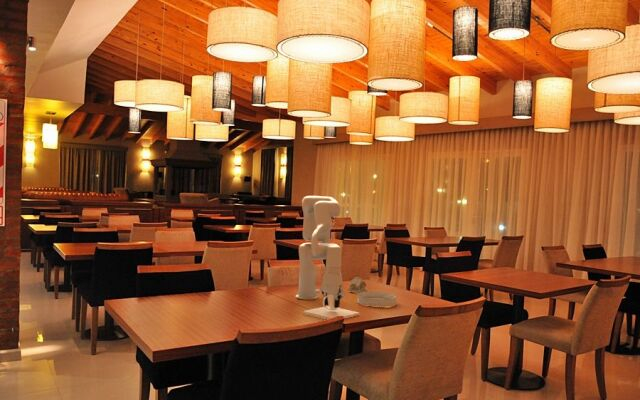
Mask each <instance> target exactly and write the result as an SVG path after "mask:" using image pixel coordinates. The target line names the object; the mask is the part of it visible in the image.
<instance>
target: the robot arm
mask: <svg viewBox="0 0 640 400" xmlns="http://www.w3.org/2000/svg"><path fill="white" fill-rule="evenodd" d="M301 208H302V212H303V225H302V226H303V227H302V238H303V240H304V241H310V242H304V243H302V244H300V245H299V246H298V257H299V274H298V275H299V276H298V293H297V294H296V295H295V298H296V299H298V300H305V301H308V300H309V301H310V300H317V299H318V295H317V294H319V293H320V292H321V295H322V297H323V298H324V297H325V296H327V293H330V294H335V298H336V300H335V305H334V307H335V308H340V302H341V300H342V298H343V297H344V296H345V295H346V292H345V290H344V289H343V276H342V275H343V274H342V273H341V271H342V254H343V253H342V251H343V250H342V247H341V246H339V245H338V244H336V243H331V230H332V229H333V220H332V218H333V217H335V218H337V217H338V216H340V214H341V205H340V204H339V202H338V201H337V200H336V199H335V198H334V197H332V196H320V195H306V196H304V197H303V198H302V200H301ZM313 260H314V261H315V260H316V261H317V260H318V261H319V260H321V261H323V260H325V266H324V270H325V272H324V273H323V276H322V280H321V281H322V282H321V286H320V288H319V289H316V279H317V277H316V276H317V267H316V265H315V263H314V262H313ZM337 295H338V296H337ZM324 305H325V306H329V305H328V298H327V297H326V298H325V301H324Z"/></svg>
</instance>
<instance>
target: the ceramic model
mask: <svg viewBox="0 0 640 400" xmlns="http://www.w3.org/2000/svg"><path fill="white" fill-rule="evenodd" d="M348 285H349V288H348V289H347V292H348V291H350V292H354V293H361V292H369V291H368V290H367V289H366V287H367V283H366V281H364V280H363V278H361V277H360V276H357V277H356V276H355V277H354V278H353V279H351V280H350V281H349V284H348Z"/></svg>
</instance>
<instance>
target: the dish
mask: <svg viewBox="0 0 640 400" xmlns="http://www.w3.org/2000/svg"><path fill="white" fill-rule="evenodd" d="M357 302H358V303H360V304H363V305H369V306H379V307H380V306H381V307H382V306H383V307H385V306H393V305H396V306H397V295H395V294H393V293H389V292H381V291H368V292H361V293H358V294H357V298H356V303H357ZM358 303H357V304H358Z"/></svg>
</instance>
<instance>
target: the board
mask: <svg viewBox="0 0 640 400" xmlns="http://www.w3.org/2000/svg"><path fill="white" fill-rule="evenodd" d="M326 307H327V308H328V309H329V308H330V307H329V305H326ZM328 309H326V308H325V307H324V306H322V307H317V308H316V307H315V308H311V309H307V310H304V311H302V315H306V316H309V317H313V318H318V319H321V320H326V319H329V318H333V317H336V316H344V317H345V318H348V319H350V318H349V317H352V316H356V315H359V316H360V312H358V311H354V310H350V309H345V308H341V307H338V308H337V309H338V310H328ZM356 317H357V316H356ZM352 318H353V317H352ZM326 321H327V320H326Z"/></svg>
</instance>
